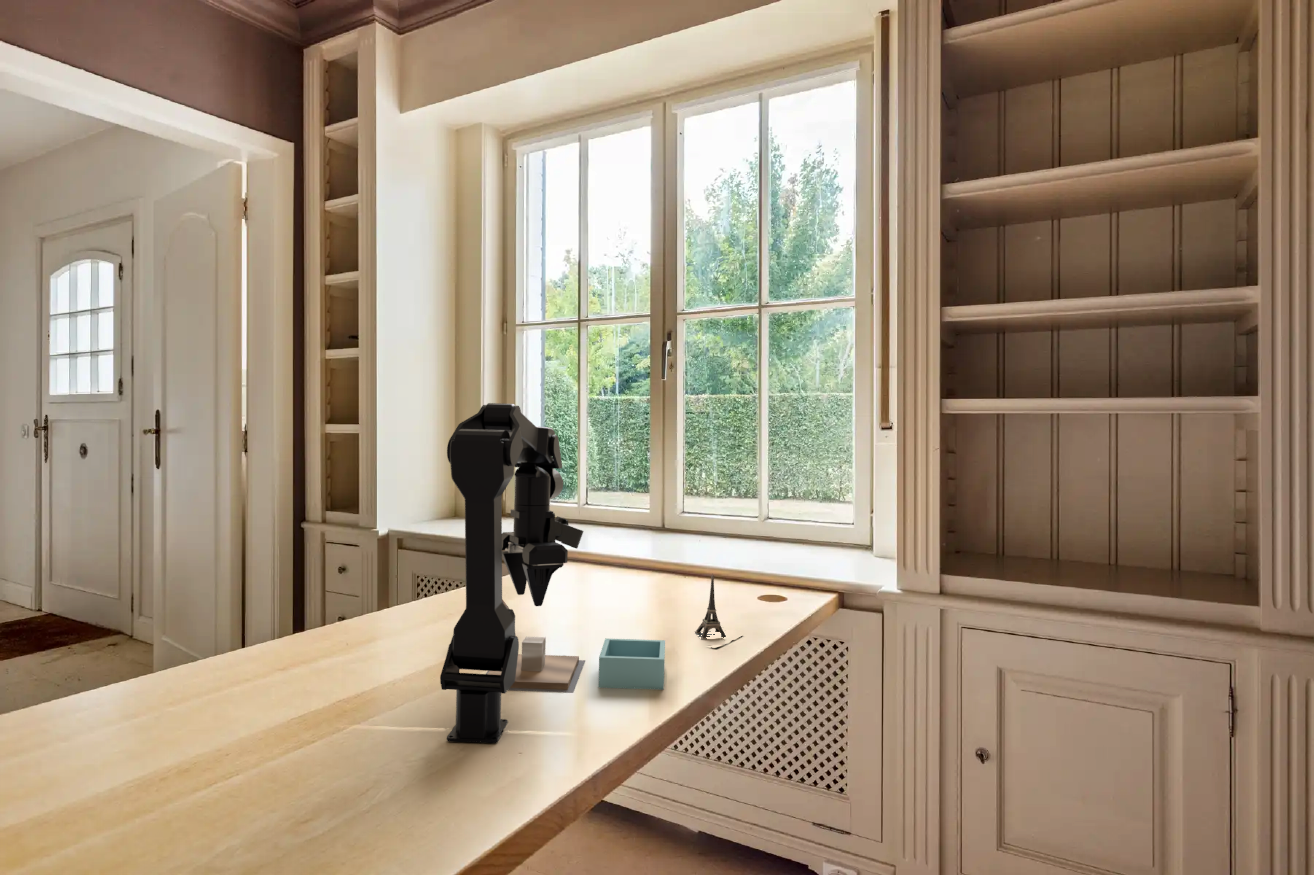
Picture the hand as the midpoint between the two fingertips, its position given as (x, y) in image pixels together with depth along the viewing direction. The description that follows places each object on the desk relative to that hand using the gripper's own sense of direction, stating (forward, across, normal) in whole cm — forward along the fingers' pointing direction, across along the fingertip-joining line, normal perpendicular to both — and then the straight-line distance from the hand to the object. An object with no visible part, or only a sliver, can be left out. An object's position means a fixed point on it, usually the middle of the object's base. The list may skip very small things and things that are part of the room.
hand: (529, 600), depth 120 cm
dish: (+12, -10, -14) cm, 21 cm away
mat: (+12, -2, 0) cm, 12 cm away
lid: (+11, -2, 0) cm, 12 cm away
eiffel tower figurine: (+12, +6, -39) cm, 41 cm away
